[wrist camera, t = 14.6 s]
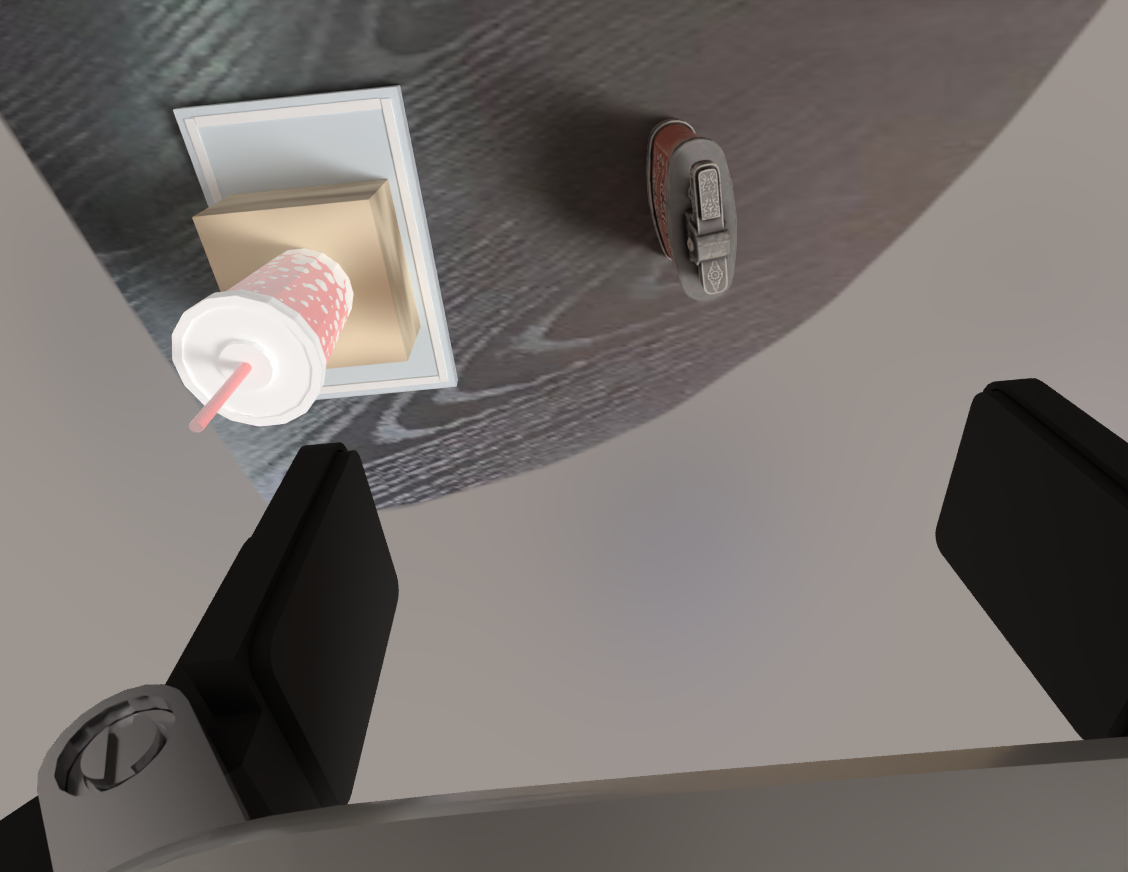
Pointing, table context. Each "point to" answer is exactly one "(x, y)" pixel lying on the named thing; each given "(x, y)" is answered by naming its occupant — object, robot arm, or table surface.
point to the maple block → (340, 231)
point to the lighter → (692, 207)
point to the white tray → (324, 157)
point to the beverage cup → (264, 340)
